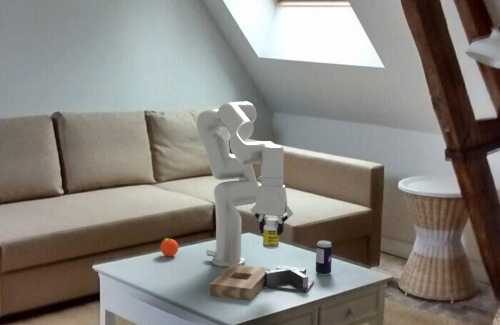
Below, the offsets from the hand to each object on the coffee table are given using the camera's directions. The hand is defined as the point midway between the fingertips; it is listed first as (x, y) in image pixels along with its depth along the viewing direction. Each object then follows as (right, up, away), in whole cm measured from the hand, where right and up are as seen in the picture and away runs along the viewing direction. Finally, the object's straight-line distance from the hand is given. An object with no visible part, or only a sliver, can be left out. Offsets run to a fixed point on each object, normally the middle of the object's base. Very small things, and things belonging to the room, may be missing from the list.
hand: (271, 232), depth 255 cm
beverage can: (+20, -17, +19) cm, 32 cm away
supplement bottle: (0, -5, +1) cm, 5 cm away
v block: (+6, -19, +6) cm, 21 cm away
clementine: (-39, -13, +37) cm, 56 cm away
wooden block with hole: (-10, -19, +4) cm, 22 cm away
